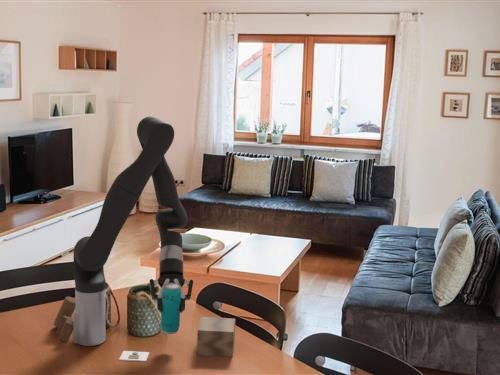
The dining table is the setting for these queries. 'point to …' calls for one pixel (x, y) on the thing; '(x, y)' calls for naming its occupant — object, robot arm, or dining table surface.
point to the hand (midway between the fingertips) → (171, 311)
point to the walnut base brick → (216, 336)
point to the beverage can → (170, 308)
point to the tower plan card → (134, 356)
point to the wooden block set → (65, 319)
